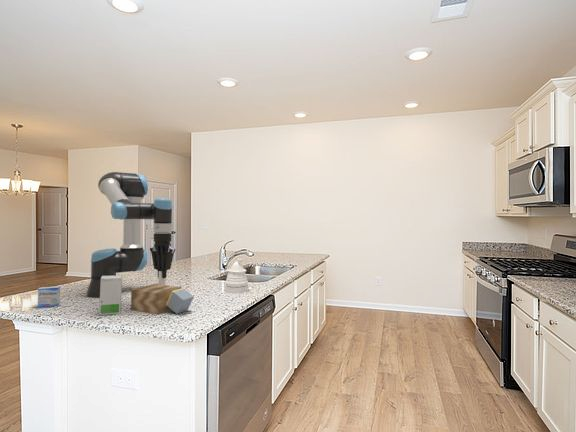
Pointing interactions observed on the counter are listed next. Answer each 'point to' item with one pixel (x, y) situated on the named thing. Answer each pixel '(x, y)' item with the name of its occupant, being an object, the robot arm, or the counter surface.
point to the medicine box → (48, 296)
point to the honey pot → (236, 279)
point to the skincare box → (110, 295)
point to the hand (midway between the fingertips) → (161, 285)
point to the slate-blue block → (179, 300)
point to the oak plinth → (151, 298)
